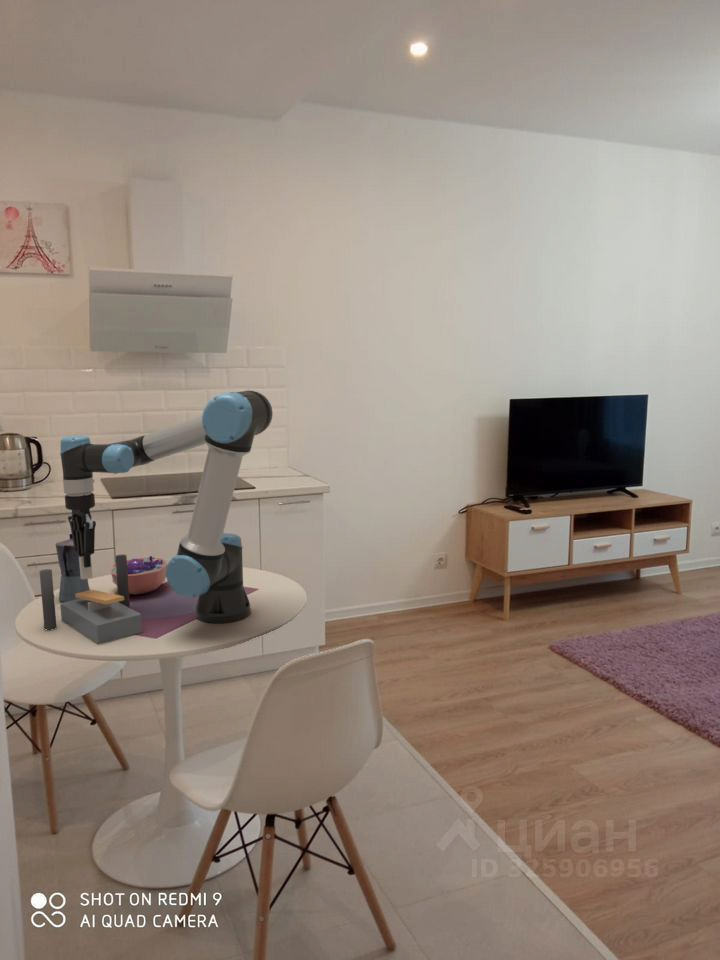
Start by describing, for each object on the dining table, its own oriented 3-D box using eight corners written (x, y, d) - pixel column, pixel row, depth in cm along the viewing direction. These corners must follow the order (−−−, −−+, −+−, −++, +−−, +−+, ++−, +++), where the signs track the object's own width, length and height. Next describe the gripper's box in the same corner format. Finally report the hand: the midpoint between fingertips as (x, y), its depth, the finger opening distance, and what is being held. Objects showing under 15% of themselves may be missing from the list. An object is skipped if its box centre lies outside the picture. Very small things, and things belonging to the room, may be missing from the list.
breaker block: (142, 632, 198) (140, 605, 196) (98, 644, 190) (96, 616, 188) (103, 610, 215) (101, 585, 214) (61, 620, 207) (59, 595, 206)
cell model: (179, 582, 241) (177, 548, 239) (153, 602, 221) (151, 565, 219) (129, 580, 243) (126, 546, 241) (99, 600, 224) (96, 564, 222)
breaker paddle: (124, 600, 195) (123, 596, 195) (105, 604, 192) (105, 600, 192) (93, 593, 210) (92, 589, 210) (75, 597, 207) (75, 593, 207)
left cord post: (58, 628, 201) (53, 570, 198) (47, 631, 199) (41, 573, 196) (54, 625, 203) (49, 568, 201) (42, 628, 201) (37, 570, 199)
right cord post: (131, 610, 215) (128, 555, 212) (121, 612, 213) (118, 558, 210) (127, 607, 217) (123, 554, 215) (117, 609, 215) (113, 555, 213)
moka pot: (96, 590, 233) (92, 528, 230) (87, 607, 218) (82, 540, 215) (64, 592, 231) (59, 529, 228) (52, 609, 216) (47, 542, 213)
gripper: (103, 494, 200) (109, 579, 204) (83, 488, 209) (90, 570, 213) (75, 498, 195) (82, 585, 199) (56, 492, 204) (63, 576, 208)
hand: (86, 577), depth 206 cm, fingers closed
